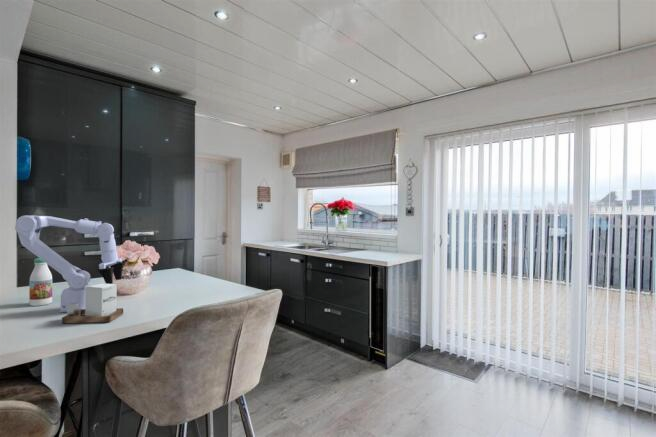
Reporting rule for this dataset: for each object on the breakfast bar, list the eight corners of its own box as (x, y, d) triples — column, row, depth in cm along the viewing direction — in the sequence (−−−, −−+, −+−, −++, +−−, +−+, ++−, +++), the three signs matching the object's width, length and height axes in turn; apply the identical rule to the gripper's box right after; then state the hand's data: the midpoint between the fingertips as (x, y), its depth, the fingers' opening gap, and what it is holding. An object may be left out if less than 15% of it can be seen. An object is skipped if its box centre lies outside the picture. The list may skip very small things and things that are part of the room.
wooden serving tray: (60, 323, 124) (60, 307, 124) (78, 314, 134) (78, 300, 134) (109, 321, 126) (109, 306, 126) (123, 313, 137) (123, 299, 137)
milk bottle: (25, 305, 147) (25, 259, 147) (45, 301, 154) (45, 257, 154) (35, 307, 144) (36, 260, 144) (56, 303, 151) (56, 258, 151)
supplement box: (101, 321, 126) (101, 287, 126) (84, 320, 128) (84, 286, 127) (117, 315, 133) (117, 283, 133) (101, 314, 135) (101, 282, 135)
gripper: (109, 252, 139) (115, 284, 140) (126, 247, 154) (131, 276, 155) (91, 254, 139) (97, 287, 140) (110, 249, 153) (115, 278, 154)
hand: (114, 281), depth 147 cm, fingers open, 7 cm apart
